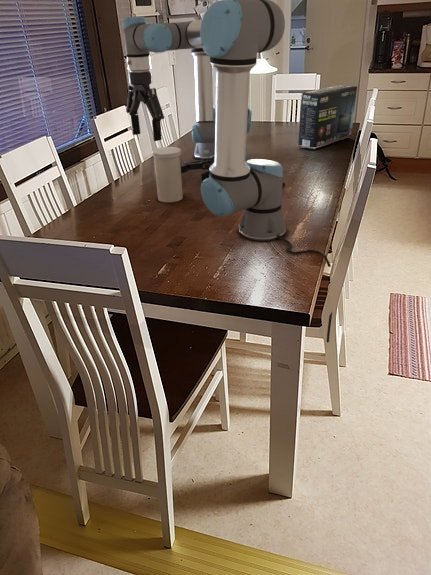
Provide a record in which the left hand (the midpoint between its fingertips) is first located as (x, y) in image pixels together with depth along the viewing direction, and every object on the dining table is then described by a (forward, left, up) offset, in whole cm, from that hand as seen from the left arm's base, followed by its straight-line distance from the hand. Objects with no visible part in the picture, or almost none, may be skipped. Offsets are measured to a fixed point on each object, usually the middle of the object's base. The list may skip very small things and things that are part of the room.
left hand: (189, 174), depth 184 cm
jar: (+10, -5, -7) cm, 13 cm away
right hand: (+18, -9, +18) cm, 27 cm away
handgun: (-18, +30, -7) cm, 36 cm away
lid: (+10, -5, +11) cm, 16 cm away
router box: (-83, +50, -7) cm, 97 cm away
